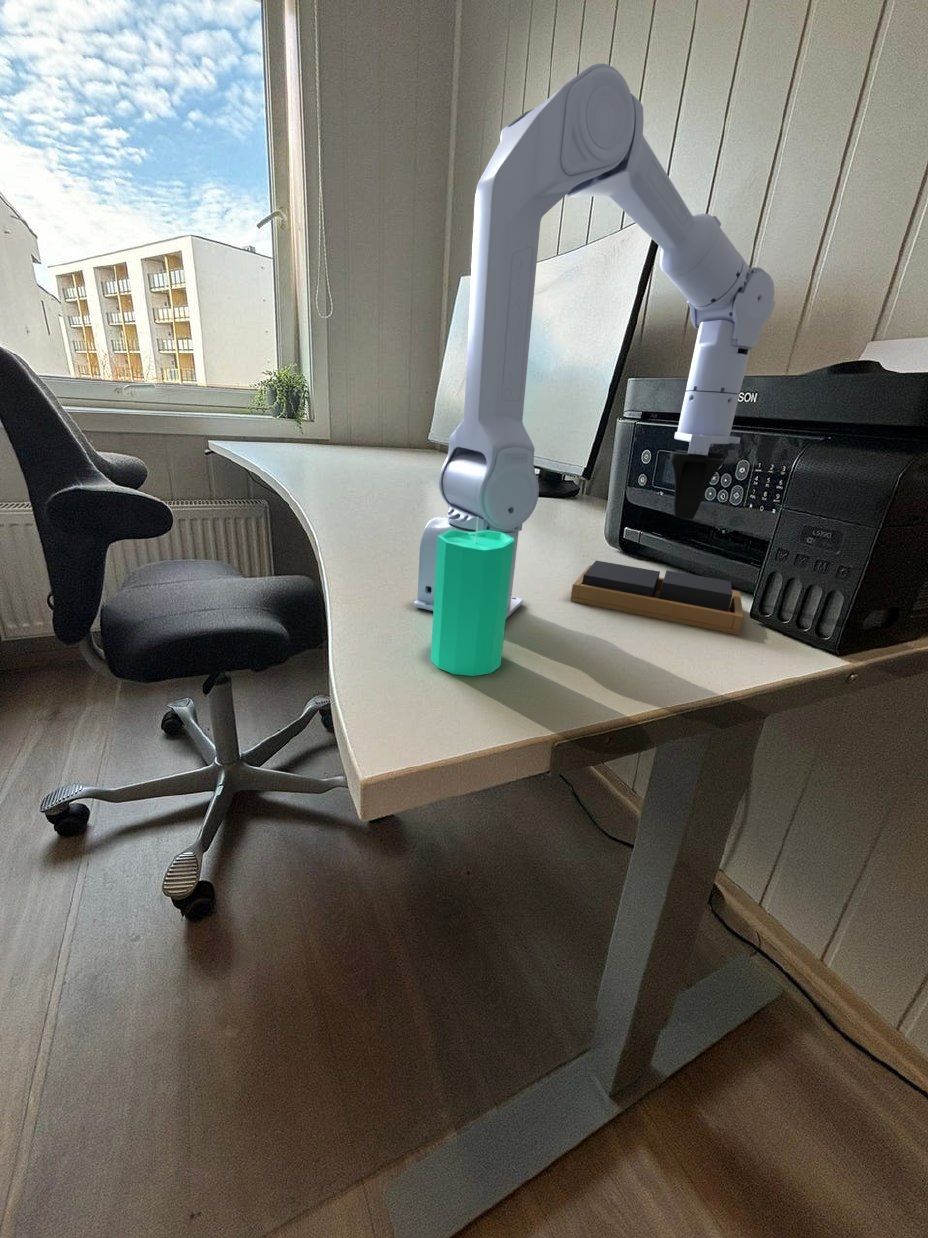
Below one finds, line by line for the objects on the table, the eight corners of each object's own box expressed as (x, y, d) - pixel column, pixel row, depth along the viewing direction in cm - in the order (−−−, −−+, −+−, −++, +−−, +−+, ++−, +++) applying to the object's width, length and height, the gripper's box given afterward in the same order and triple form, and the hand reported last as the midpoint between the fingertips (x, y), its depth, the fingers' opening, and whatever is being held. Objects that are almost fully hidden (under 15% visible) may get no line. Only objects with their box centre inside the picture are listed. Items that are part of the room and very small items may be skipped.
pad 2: (656, 608, 60) (662, 582, 59) (661, 594, 65) (666, 570, 64) (725, 621, 58) (732, 594, 57) (724, 606, 63) (731, 581, 62)
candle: (509, 652, 48) (525, 515, 43) (490, 682, 42) (505, 530, 38) (445, 639, 49) (454, 506, 45) (419, 666, 44) (426, 518, 40)
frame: (570, 600, 62) (572, 584, 61) (587, 579, 70) (589, 564, 69) (738, 635, 56) (743, 617, 55) (735, 607, 64) (740, 591, 63)
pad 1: (580, 595, 62) (583, 574, 61) (592, 579, 69) (595, 560, 68) (649, 609, 60) (654, 587, 59) (655, 591, 66) (660, 571, 65)
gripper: (754, 392, 54) (721, 527, 59) (747, 398, 67) (719, 509, 72) (680, 388, 57) (653, 518, 62) (686, 394, 69) (664, 501, 74)
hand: (685, 512), depth 67 cm, fingers open, 7 cm apart
